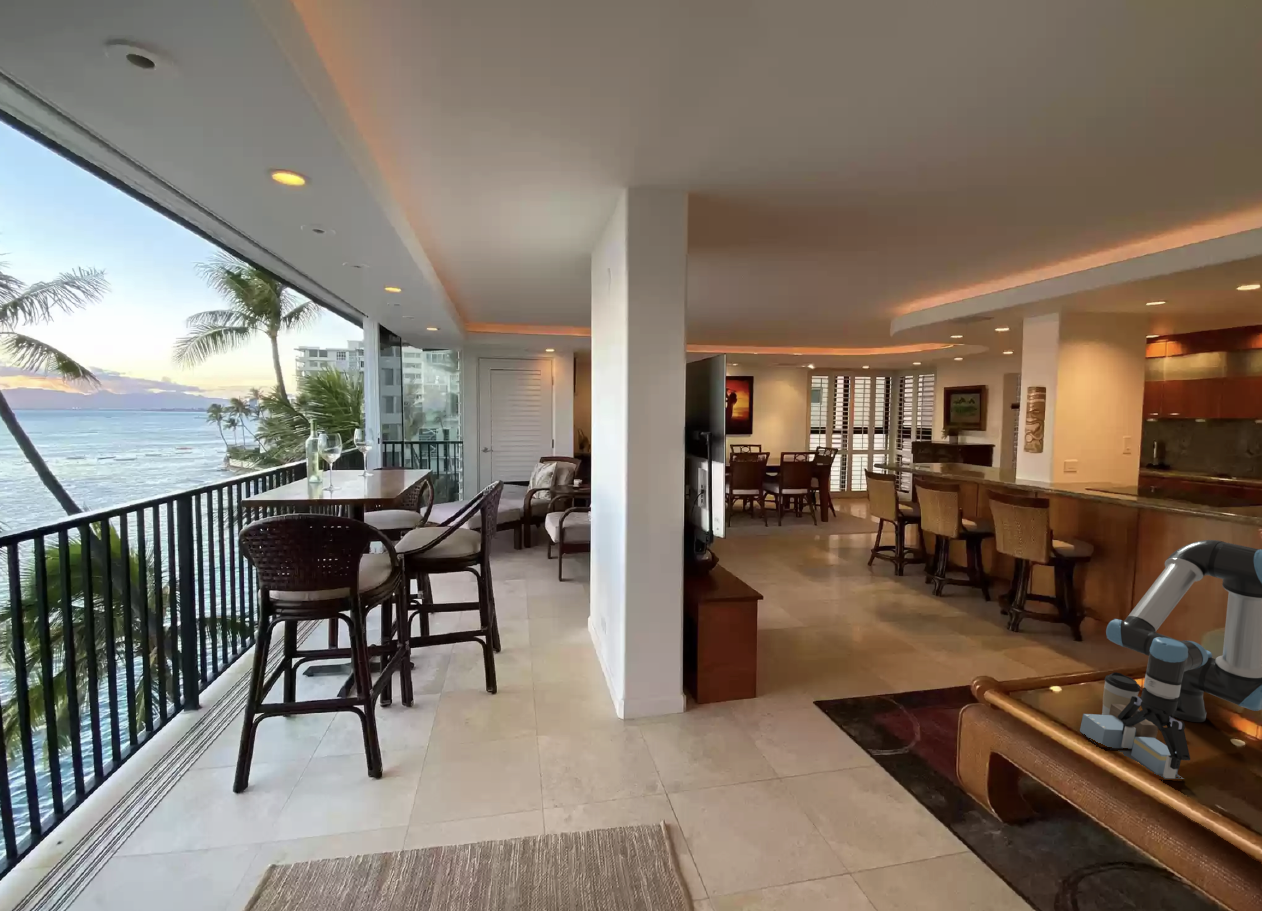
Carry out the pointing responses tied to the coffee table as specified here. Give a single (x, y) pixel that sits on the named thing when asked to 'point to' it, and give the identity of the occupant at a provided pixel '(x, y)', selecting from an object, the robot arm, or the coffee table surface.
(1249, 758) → the coffee table surface
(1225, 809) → the coffee table surface
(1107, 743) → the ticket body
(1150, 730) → the brown block with knob
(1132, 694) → the coffee cup
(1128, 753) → the coaster
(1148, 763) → the light blue block
